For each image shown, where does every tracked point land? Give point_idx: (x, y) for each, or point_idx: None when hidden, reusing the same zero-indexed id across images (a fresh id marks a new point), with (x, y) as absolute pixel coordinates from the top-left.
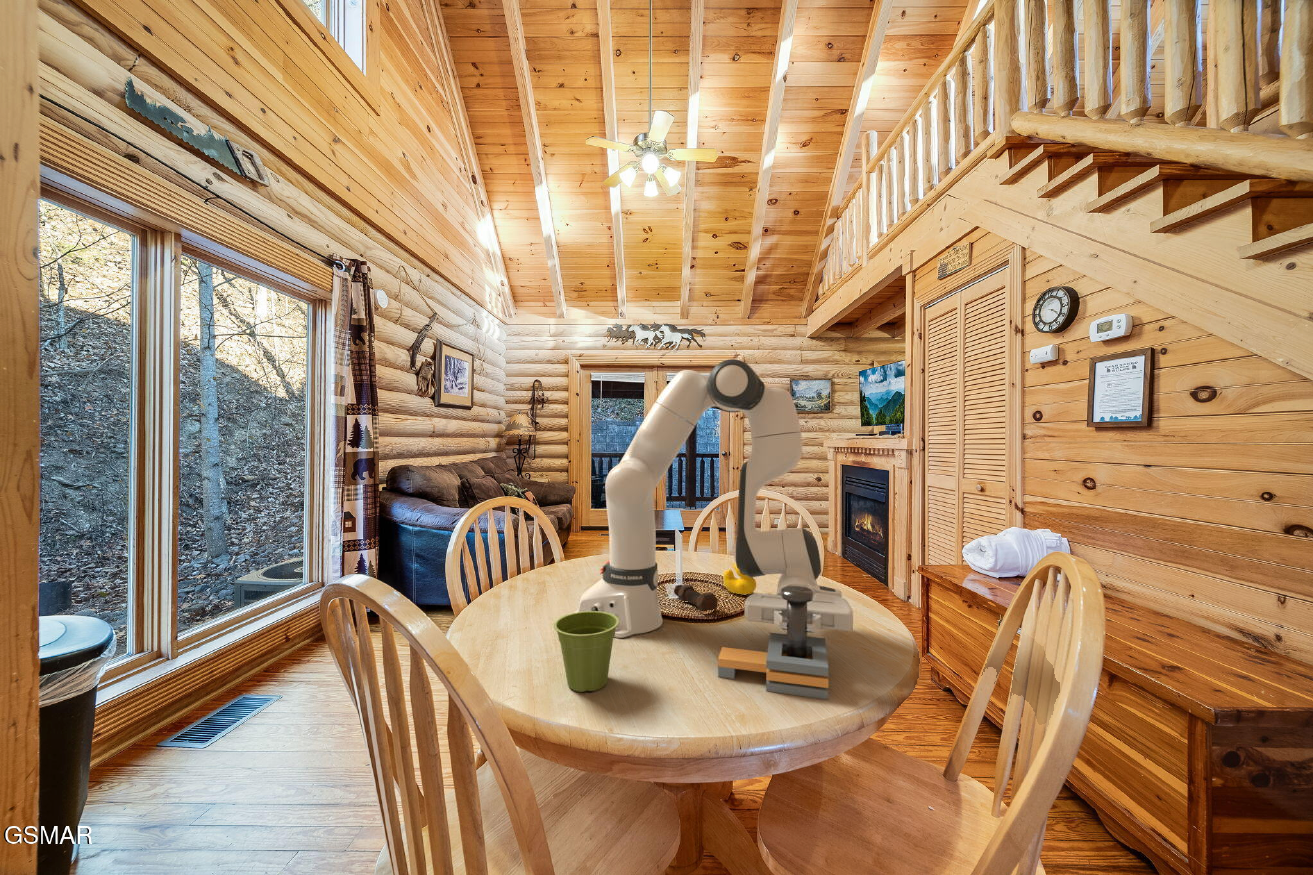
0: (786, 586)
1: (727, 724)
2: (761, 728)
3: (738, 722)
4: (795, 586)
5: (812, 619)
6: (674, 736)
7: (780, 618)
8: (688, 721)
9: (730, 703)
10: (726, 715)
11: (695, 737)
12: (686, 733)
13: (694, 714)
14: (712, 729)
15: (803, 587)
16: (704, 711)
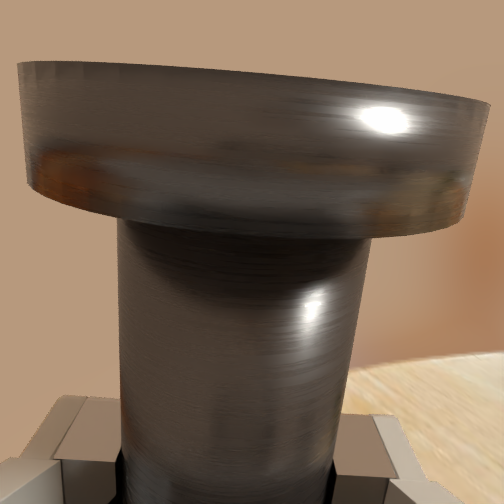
0: (475, 101)
1: (391, 393)
2: None
3: (370, 402)
4: (298, 79)
5: (39, 467)
6: (463, 356)
7: (398, 440)
8: (476, 391)
9: (436, 470)
10: (412, 420)
11: (426, 358)
12: (450, 364)
13: (486, 412)
14: (411, 378)
15: (121, 66)
16: (474, 426)
